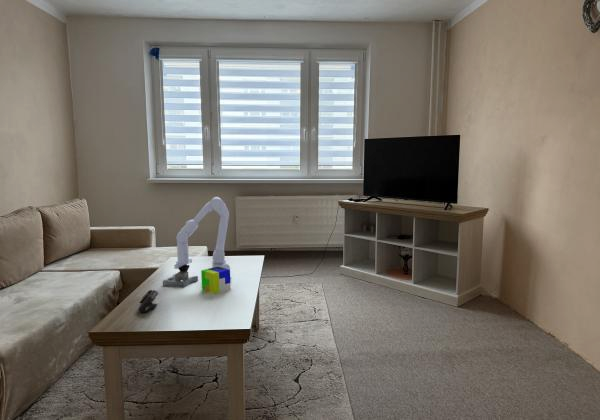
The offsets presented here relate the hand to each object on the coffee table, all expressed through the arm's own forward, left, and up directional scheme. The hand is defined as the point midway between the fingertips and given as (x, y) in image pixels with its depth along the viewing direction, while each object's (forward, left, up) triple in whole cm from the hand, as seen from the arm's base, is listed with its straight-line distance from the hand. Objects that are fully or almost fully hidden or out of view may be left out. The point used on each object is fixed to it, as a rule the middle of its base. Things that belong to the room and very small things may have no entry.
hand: (183, 278), depth 223 cm
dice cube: (-2, +2, -1) cm, 3 cm away
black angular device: (-24, +36, -1) cm, 43 cm away
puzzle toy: (-26, 0, -1) cm, 26 cm away
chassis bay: (-2, +4, -1) cm, 5 cm away
